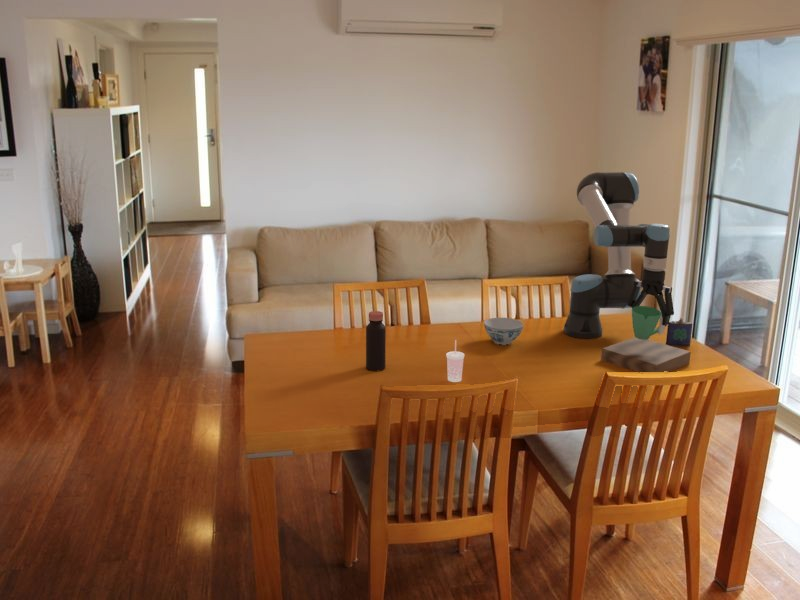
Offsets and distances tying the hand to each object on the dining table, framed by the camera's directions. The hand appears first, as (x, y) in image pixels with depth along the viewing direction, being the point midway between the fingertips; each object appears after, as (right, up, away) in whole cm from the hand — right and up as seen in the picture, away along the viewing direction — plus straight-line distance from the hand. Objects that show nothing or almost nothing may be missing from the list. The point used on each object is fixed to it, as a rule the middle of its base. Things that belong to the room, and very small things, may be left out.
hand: (648, 330), depth 271 cm
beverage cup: (-70, -16, -15) cm, 73 cm away
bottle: (-97, -13, -6) cm, 98 cm away
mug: (0, -3, +1) cm, 3 cm away
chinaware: (-49, -6, +23) cm, 54 cm away
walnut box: (0, -12, +3) cm, 13 cm away
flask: (+19, -7, +22) cm, 30 cm away
